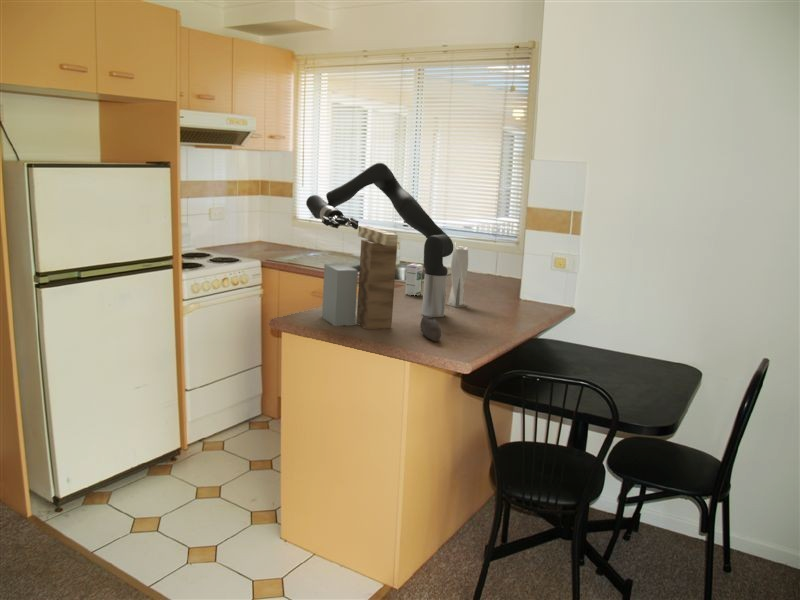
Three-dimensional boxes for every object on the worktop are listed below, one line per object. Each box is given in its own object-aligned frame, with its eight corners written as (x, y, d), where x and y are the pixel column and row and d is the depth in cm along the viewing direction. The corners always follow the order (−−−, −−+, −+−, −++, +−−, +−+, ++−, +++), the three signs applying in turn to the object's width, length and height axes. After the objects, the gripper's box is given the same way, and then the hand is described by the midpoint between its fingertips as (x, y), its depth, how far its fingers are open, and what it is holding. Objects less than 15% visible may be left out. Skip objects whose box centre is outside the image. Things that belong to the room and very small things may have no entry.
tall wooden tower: (356, 322, 257) (361, 239, 250) (380, 321, 261) (385, 239, 255) (367, 329, 248) (372, 243, 241) (391, 328, 252) (397, 243, 246)
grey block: (322, 317, 262) (324, 264, 257) (341, 316, 265) (343, 263, 261) (334, 326, 250) (337, 270, 245) (354, 325, 253) (357, 270, 249)
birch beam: (358, 236, 260) (358, 225, 259) (367, 236, 262) (368, 226, 261) (386, 245, 238) (387, 234, 237) (396, 245, 239) (397, 234, 238)
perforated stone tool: (444, 344, 235) (445, 325, 234) (429, 344, 234) (431, 325, 233) (432, 333, 250) (433, 315, 248) (418, 333, 248) (420, 314, 247)
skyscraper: (442, 304, 302) (447, 242, 296) (453, 302, 308) (459, 241, 302) (457, 307, 296) (463, 244, 290) (468, 305, 302) (474, 243, 296)
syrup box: (415, 296, 315) (417, 265, 312) (404, 294, 318) (406, 264, 315) (421, 294, 319) (423, 264, 316) (410, 292, 322) (412, 263, 319)
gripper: (316, 206, 276) (332, 216, 263) (348, 208, 283) (364, 218, 270) (314, 224, 278) (329, 234, 265) (345, 225, 285) (361, 236, 272)
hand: (347, 226), depth 267 cm, fingers open, 8 cm apart
